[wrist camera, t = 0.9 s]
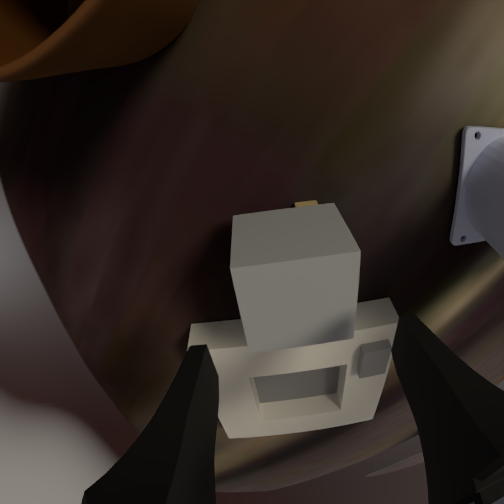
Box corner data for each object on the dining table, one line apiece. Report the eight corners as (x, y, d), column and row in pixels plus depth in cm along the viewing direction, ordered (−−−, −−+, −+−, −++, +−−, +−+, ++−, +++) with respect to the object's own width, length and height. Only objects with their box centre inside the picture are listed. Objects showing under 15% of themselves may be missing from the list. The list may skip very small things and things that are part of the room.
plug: (326, 190, 17) (360, 250, 12) (328, 266, 20) (353, 338, 15) (233, 202, 17) (230, 268, 12) (247, 276, 20) (249, 353, 15)
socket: (389, 297, 21) (405, 330, 18) (366, 398, 29) (374, 425, 26) (191, 323, 22) (185, 360, 19) (229, 417, 30) (228, 445, 27)
